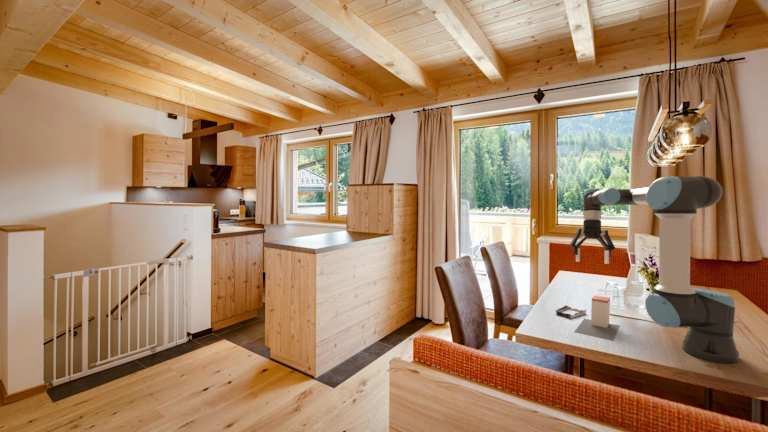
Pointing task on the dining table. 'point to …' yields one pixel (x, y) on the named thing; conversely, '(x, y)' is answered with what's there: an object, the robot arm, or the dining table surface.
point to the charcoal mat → (597, 330)
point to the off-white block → (600, 311)
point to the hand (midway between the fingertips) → (592, 262)
